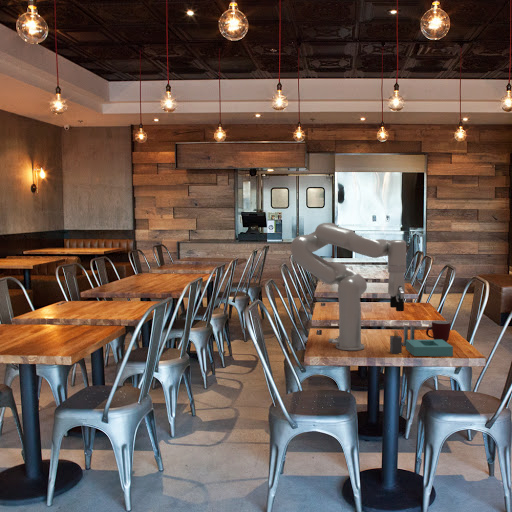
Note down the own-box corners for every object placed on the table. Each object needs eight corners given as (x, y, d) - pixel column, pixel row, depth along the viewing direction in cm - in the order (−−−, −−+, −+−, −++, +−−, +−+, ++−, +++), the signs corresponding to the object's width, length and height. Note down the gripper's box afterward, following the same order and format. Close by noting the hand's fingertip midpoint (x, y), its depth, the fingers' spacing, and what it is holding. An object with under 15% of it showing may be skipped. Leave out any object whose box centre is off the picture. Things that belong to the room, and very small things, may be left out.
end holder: (414, 356, 241) (414, 347, 240) (405, 348, 255) (405, 339, 254) (452, 356, 241) (453, 346, 240) (442, 348, 255) (442, 339, 254)
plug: (392, 354, 246) (392, 332, 245) (390, 351, 250) (390, 330, 249) (401, 353, 246) (401, 332, 245) (399, 351, 250) (399, 330, 249)
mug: (426, 345, 261) (426, 323, 260) (425, 341, 269) (425, 320, 268) (451, 346, 259) (451, 324, 258) (449, 342, 266) (449, 320, 266)
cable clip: (403, 346, 259) (403, 326, 258) (401, 344, 263) (401, 325, 262) (416, 346, 259) (417, 326, 258) (414, 344, 263) (414, 324, 262)
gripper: (383, 267, 254) (383, 306, 255) (393, 271, 237) (393, 312, 238) (400, 267, 254) (400, 305, 255) (411, 271, 237) (411, 312, 238)
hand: (396, 309), depth 247 cm, fingers open, 9 cm apart
